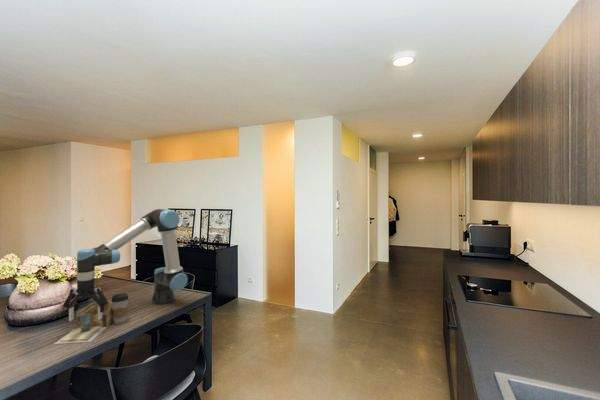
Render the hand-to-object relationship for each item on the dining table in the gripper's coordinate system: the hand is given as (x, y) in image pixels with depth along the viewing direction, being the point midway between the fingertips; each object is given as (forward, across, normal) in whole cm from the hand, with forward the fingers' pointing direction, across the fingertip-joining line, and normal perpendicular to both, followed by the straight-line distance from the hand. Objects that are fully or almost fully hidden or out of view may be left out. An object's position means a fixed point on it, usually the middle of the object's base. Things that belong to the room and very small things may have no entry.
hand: (85, 319), depth 151 cm
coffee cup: (+7, -11, -12) cm, 18 cm away
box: (+7, 0, -14) cm, 16 cm away
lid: (+7, 0, +3) cm, 7 cm away
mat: (+7, 0, +3) cm, 8 cm away
